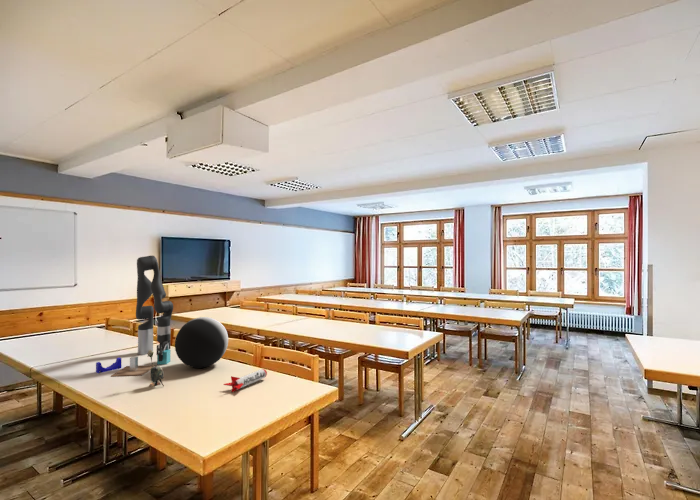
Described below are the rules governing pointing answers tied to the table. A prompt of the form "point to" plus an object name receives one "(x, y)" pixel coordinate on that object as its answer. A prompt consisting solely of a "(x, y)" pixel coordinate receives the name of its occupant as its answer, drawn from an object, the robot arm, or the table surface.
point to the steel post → (134, 363)
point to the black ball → (201, 342)
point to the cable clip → (113, 367)
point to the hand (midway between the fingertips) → (163, 358)
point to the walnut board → (138, 372)
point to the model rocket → (246, 379)
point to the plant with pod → (155, 372)
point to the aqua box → (164, 357)
